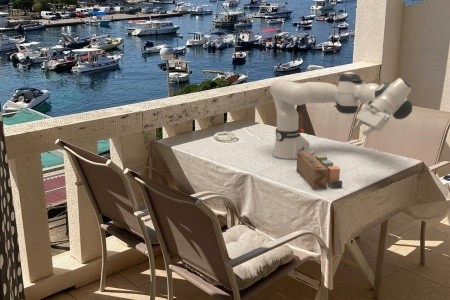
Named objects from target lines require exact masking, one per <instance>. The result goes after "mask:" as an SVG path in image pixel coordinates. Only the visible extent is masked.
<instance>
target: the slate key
mask: <svg viewBox="0 0 450 300" xmlns="http://www.w3.org/2000/svg"><path fill="white" fill-rule="evenodd" d="M321 164H322V165H323V166H325V167H326V168H327V167H328V166H334V162H333V160H331V159H330V160H329V159H327V160H326V161H321Z"/></svg>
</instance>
